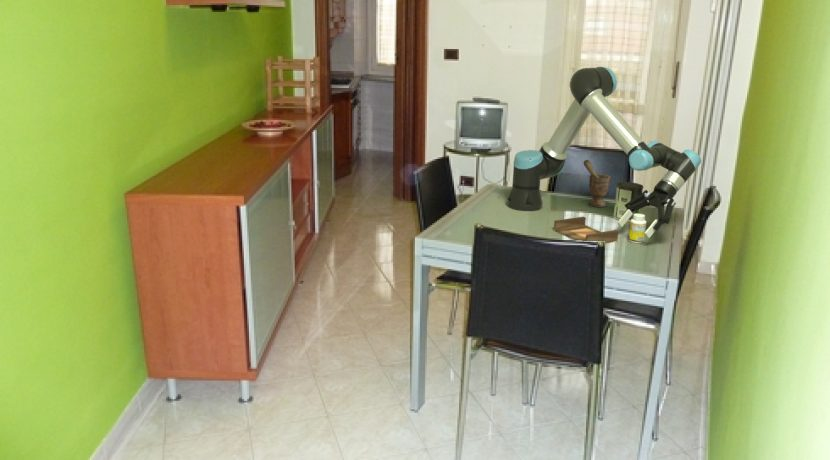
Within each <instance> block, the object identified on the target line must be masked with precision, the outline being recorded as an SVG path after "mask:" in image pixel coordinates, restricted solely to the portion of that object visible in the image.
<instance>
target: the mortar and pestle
mask: <svg viewBox="0 0 830 460" xmlns="http://www.w3.org/2000/svg"><path fill="white" fill-rule="evenodd" d="M583 166H584V167H585V168H586V170H587V171H588V173H589V180H588V181H589V182H588V183H589V185H588V186H589V187H588V188H589V192H590V194H591V195H592V198H591V199H590V200H589V201H588V205H589V206H591V207H594V208H595V207H596V208H597V207H598V208H604V207H607V202H606V200H605V199H604V197H605V196H606V195H607V193H608V190H609V187H610V185H611V183H610V182H611V176H610V175H608V174H601V173H596V171H595V169H594V166H593V165H592V163H591V161H590V160H589V159H586V160H584V161H583Z"/></svg>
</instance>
